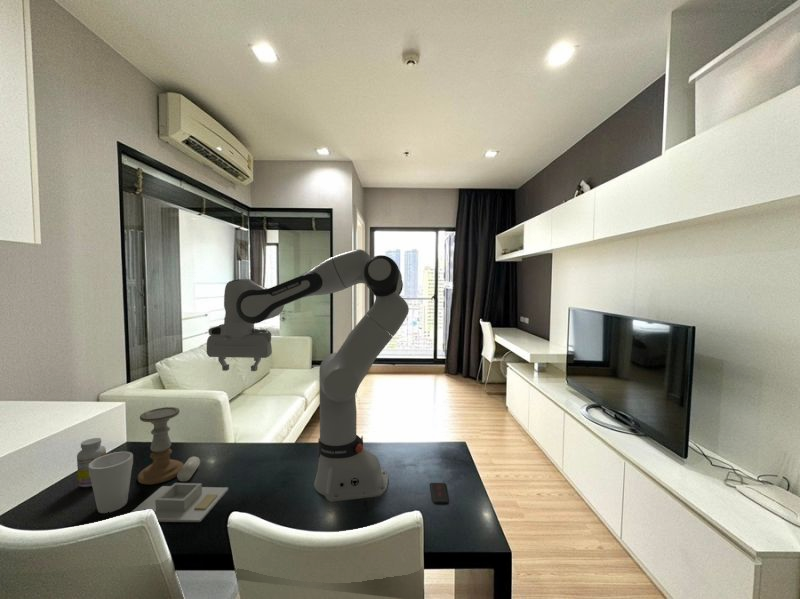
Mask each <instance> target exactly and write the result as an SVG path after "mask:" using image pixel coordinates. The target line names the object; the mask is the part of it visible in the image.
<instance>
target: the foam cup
mask: <svg viewBox="0 0 800 599" xmlns="http://www.w3.org/2000/svg"><path fill="white" fill-rule="evenodd" d="M133 465H134V454H133V453H132V452H130V451H118V452H116V451H114V452H110V453H108V454H107V453H106V455H104V456H101V457H99V458H97V459H95V460H93V461H92V462H91V463H89V476H90V478H91V483H92V486H91V487H92V491H93V496H94V500H95V504H96V505H95V506H96V509H97V512H98V513H100V514H108V512H109V513H113V512H115V511H117V510H120V509H121V508H123V507H125V506H126V504H128V499H129V492H130V484H131V476H132V468H133Z"/></svg>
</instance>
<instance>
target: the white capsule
mask: <svg viewBox="0 0 800 599" xmlns="http://www.w3.org/2000/svg"><path fill="white" fill-rule="evenodd" d="M183 464H184V466H183V467H182V468H181V470H180V471H179V472H178V474H177V477H176V478H177V480H178V481H179V482H180V483H184V482H188V481H189V480H191V478H192V476H193V475H194V474H195V472H196V470H197V469H198V467H199V466H200V464H201V459H200V458H199V457H198V456H190V457H189V458H188V459H187V460H186V462H185V463H183Z"/></svg>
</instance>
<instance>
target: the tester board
mask: <svg viewBox="0 0 800 599" xmlns="http://www.w3.org/2000/svg"><path fill="white" fill-rule="evenodd" d="M228 491H229V487H220V486H219V487H215V486H214V487H213V486H203V483H202V482H199V483H198V482H197V483H194V482H193V483H192V482H191V483H190V482H175V483H173V484H171V485H170V486H169V485H161V487H159V488H158V489H156V490H155V491H154V492H153V493H152V494H151V495H150V496H148V497H146V499H145V500H144V501H142V502H141V503H140V504H139V505H138V506H137V507H136V508H134V509H133V510H132V511H131V512H134V511H138V510H144V509H153V510H154V511H155V514H156V515H157V518H158V521H159V522H158V523H200V522H202V520H204V518H205V517H207V515H208V514H209V512H210V511H211V510H213V508H214V507H215V505H217V503H218V502H219V501H220V500H221V499H222V498H223V497H224V496H225V495H226V493H227V492H228Z"/></svg>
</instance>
